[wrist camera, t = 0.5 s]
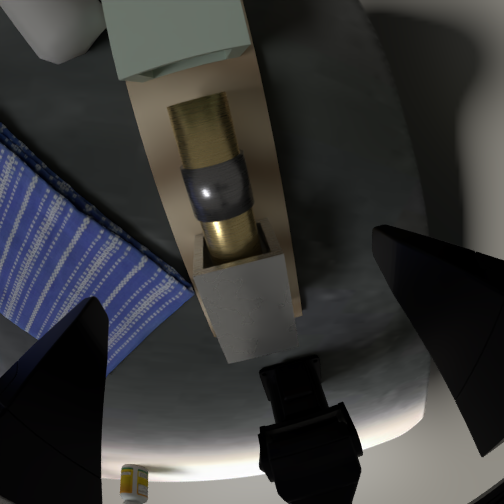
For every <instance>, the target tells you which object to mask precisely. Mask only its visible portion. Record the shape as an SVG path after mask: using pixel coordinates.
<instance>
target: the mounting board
mask: <svg viewBox="0 0 504 504" xmlns="http://www.w3.org/2000/svg"><path fill="white" fill-rule="evenodd" d="M240 2H241V5H242V9H243V13H244V17H245V22H246V26H247V30H248V34H249V38H250V42H251V45H250V46H249V47H248V48H247V49H246V50H245V51H244V52H243V53H242V54H241V56H240V57H236V58H231V59H226V60H222V61H217V62H213V63H208V64H204V65H200V66H196V67H192V68H189V69H185V70H181V71H178V72H174V73H171V74H168V75H164V76H161V77H158V78H155V79H152V80H149V81H146V82H143V83H141V82H132V81H126V84H127V88H128V92H129V96H130V99H131V103H132V107H133V110H134V114H135V117H136V121H137V124H138V128H139V131H140V134H141V138H142V141H143V144H144V148H145V151H146V154H147V157H148V161H149V164H150V167H151V170H152V173H153V176H154V179H155V182H156V185H157V188H158V191H159V194H160V197H161V200H162V203H163V206H164V209H165V212H166V215H167V217H168V220H169V223H170V226H171V229H172V231H173V234H174V237H175V240H176V242H177V245H178V248H179V250H180V253H181V256H182V258H183V261H184V264H185V266H186V269H187V271H188V274H189V277H190V279H191V282H192V284H193V287H194V289H195V292H196V294H197V297H198V299H199V302H200V304H201V306H202V309H203V311H204V314H205V316H206V319H207V321H208V323H209V326H210V328H211V330H212V333H213V335H214V337H217V336H216V334H215V331H214V329H213V326H212V324H211V322H210V319H209V317H208V314H207V312H206V309H205V307H204V304H203V302H202V299H201V297H200V294H199V292H198V289H197V287H196V284H195V282H194V279H193V257H194V240H195V236H196V235H199V234H203V231H202V227H201V224H200V221H198V220H197V219H196V218H195V217H194V213H193V210H192V207H191V204H190V201H189V197H188V194H187V191H186V188H185V184H184V181H183V178H182V174H181V171H180V166H181V165H182V161H181V158H180V154H179V151H178V147H177V144H176V140H175V137H174V133H173V130H172V126H171V122H170V119H169V115H168V111H167V108H166V107H168V106H171V105H174V104H178V103H181V102H185V101H188V100H192V99H195V98H199V97H203V96H207V95H211V94H215V93H220V92H224V91H226V95H227V99H228V103H229V107H230V112H231V116H232V120H233V125H234V129H235V133H236V138H237V142H238V146H239V149H241V150H243V152H244V156H245V161H246V165H247V169H248V174H249V178H250V183H251V187H252V192H253V197H254V201H255V202H254V205H253V206H252V208H253V212H254V217H255V220H259V219H263V218H267V217H268V220H269V222H270V224H271V226H272V229H273V231H274V233H275V235H276V237H277V240H278V242H279V244H280V246H281V249H282V251H283V253H284V258H285V263H286V269H287V275H288V281H289V287H290V293H291V299H292V305H293V311H294V318H295V317H299V316H302V309H301V301H300V294H299V287H298V280H297V273H296V267H295V260H294V254H293V247H292V241H291V235H290V228H289V222H288V216H287V210H286V205H285V199H284V193H283V187H282V182H281V176H280V171H279V165H278V160H277V155H276V149H275V144H274V139H273V134H272V129H271V124H270V119H269V114H268V109H267V104H266V99H265V95H264V90H263V85H262V81H261V76H260V72H259V67H258V63H257V58H256V54H255V49H254V45H253V41H252V37H251V32H250V28H249V24H248V20H247V16H246V12H245V8H244V4H243V0H240Z"/></svg>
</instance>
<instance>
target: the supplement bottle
mask: <svg viewBox="0 0 504 504" xmlns="http://www.w3.org/2000/svg"><path fill="white" fill-rule="evenodd" d="M120 485H121V486H120V496H121V498H122V499H123V500H125V502H123V504H143V503H145V502H147V500H148V470H147V469H145V468H143V467H141V466H137V465H123V466H122V470H121V484H120Z"/></svg>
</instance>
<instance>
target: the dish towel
mask: <svg viewBox="0 0 504 504" xmlns="http://www.w3.org/2000/svg"><path fill="white" fill-rule="evenodd" d="M192 286H193V284H192V283H188V282H187V281H186V280H185V279H184V278H183V277H182V276H181V275H180V274H179V273H178V272H177V271H176V270H175V269H174V268H173V267H171V266H169V265H168V264H167V263H165V262H164V261H163V260H161V259H160V258H159V257H157V256H156V255H155V254H153V253H152V252H151V251H150V250H149V249H148V248H146V247H145V246H143V245H142V244H140V243H139V242H138V241H136V240H135V239H134V238H133V237H131V236H130V235H129V234H127V233H126V232H125V231H124V230H123V229H122V228H120V227H119V226H117V225H116V224H115V223H113V222H112V221H111V220H109V219H108V218H107V217H105V216H104V215H103V214H102V213H101V212H100V211H99V210H98V209H97V208H96V207H95V206H94V205H92V204H90V203H89V202H88V201H87V200H85V199H84V198H83V197H82V196H80V195H79V194H78V193H76V192H75V190H74V189H73V188H72V187H71V186H70V185H69V184H67V183H66V182H65V181H63V180H62V179H61V178H60V177H59V176H57V175H56V174H55V173H54V172H53V171H51V170H50V169H49V168H48V167H47V166H46V165H45V164H44V163H43V162H42V161H41V160H40V159H39V158H37V157H36V156H35V155H34V153H33V152H31V151H30V150H29V149H28V147H27V146H26V145H25V144H24V143H23V142H21V141H20V140H18V139H17V138H16V137H15V136H14V135H13V134H12V133H11V132H10V131H9V130H8V129H7V128H6V126H5V125H3V124H2V123H1V122H0V313H1V314H2V315H4V316H5V317H6V318H7V319H9V320H10V321H12V322H13V323H15V324H16V325H17V326H19V327H20V328H22V329H23V330H24V331H26V332H28V333H29V334H31V335H32V336H33V337H35V338H36V339H38V340H39V339H40V338H41V337H42V336H43V335H44V334H46V333H47V332H48V331H49V330H50V329H51V328H52V327H53V326H54V325H55V324H56V323H57V322H58V321H60V320H61V319H62V318H63V317H64V316H65V315H66V314H67V313H68V312H69V311H71V310H72V309H73V308H74V307H75V306H76V305H77V304H78V303H80V302H81V301H82V300H83V299H84V298H87V297H91V296H95V297H97V298H98V300H99V301H100V303H101V305H102V306H103V308H104V310H105V311H106V313H107V315H108V318H109V334H108V361H107V371H106V377H107V376H108V374H109V373H110V372H111V371H112V370H113V369H114V368H115V367H116V366H117V365H118V364H119V363H120V362H121V361H122V360H123V359H124V358H125V357H127V356H128V355H129V354H130V353H131V352H132V351H133V350H134V349H135V348H136V347H137V346H138V345H139V344H140V343H141V342H142V341H143V340H144V339H145V338H146V337H147V336H148V335H149V334H150V333H151V332H152V331H153V330H154V329H155V328H157V327H158V326H159V325H160V324H161V323H162V322H163V321H165V320H166V319H167V318H168V317H169V316H170V315H172V314H173V313H174V312H175V311H176V310H177V309H178V308H179V307H180V306H182V305H183V303H184V302H186V301H187V300H189V299H190V298H191V297H192V296H193V295H194V291H193V288H192Z"/></svg>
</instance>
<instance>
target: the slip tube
mask: <svg viewBox="0 0 504 504" xmlns="http://www.w3.org/2000/svg"><path fill="white" fill-rule="evenodd" d="M166 108H167V111H168V115H169V119H170V122H171V126H172V130H173V133H174V137H175V140H176V144H177V147H178V151H179V154H180V158H181V161H182V165H181V166H180V171H181V174H182V178H183V181H184V184H185V188H186V191H187V194H188V197H189V201H190V204H191V207H192V210H193V213H194V217H195V218H196V219H197V220H198V221H200V224H201V227H202V231H203V234H204V237H205V240H206V243H207V246H208V249H209V252H210V255H211V259H212V262H213V265H214V266H218V265H222V264H226V263H230V262H234V261H238V260H242V259H246V258H250V257H254V256H258V255H262V254H263V253H262V248H261V244H260V239H259V235H258V230H257V226H256V221H255V217H254V212H253V208H252V206H253V205H254V202H255V201H254V197H253V192H252V187H251V183H250V178H249V174H248V169H247V165H246V161H245V156H244V152H243V150H241V149H239V146H238V142H237V138H236V133H235V129H234V125H233V120H232V116H231V112H230V107H229V103H228V99H227V95H226V91H224V92H220V93H215V94H211V95H207V96H203V97H199V98H195V99H192V100H188V101H185V102H181V103H178V104H174V105H171V106H168V107H166Z"/></svg>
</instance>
